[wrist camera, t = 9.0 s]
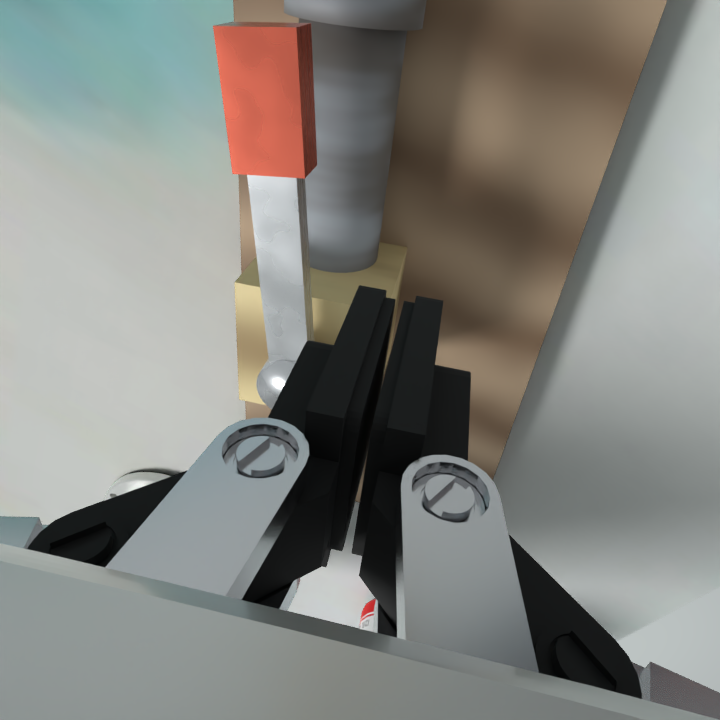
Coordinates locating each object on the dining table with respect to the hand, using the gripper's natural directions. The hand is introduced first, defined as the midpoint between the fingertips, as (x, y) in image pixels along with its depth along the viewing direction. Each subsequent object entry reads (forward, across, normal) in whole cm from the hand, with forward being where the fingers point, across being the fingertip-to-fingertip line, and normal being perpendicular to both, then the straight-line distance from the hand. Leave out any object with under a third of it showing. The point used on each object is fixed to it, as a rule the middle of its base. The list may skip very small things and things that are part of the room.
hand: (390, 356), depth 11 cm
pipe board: (+20, +2, +9) cm, 22 cm away
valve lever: (+11, +5, +3) cm, 12 cm away
